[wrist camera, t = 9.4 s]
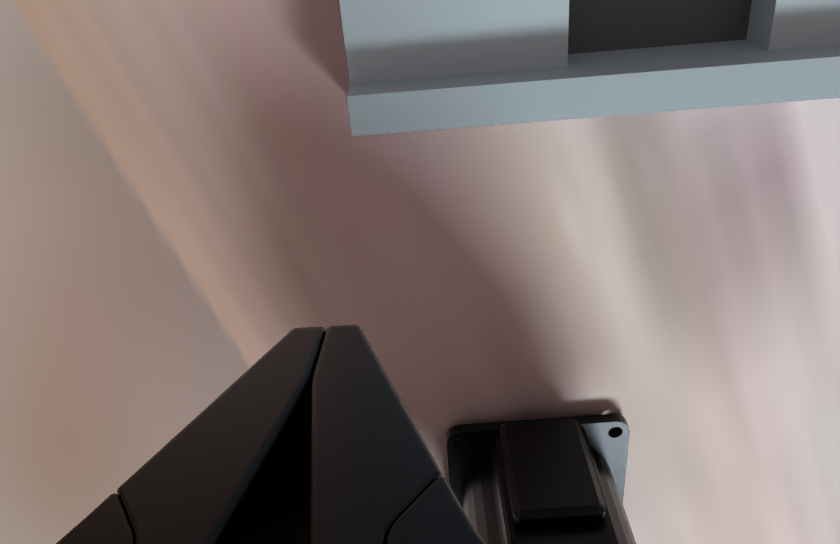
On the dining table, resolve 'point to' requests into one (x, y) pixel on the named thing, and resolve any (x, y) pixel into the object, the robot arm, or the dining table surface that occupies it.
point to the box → (579, 58)
